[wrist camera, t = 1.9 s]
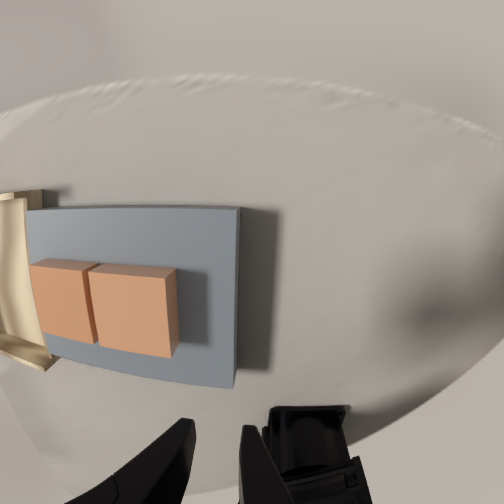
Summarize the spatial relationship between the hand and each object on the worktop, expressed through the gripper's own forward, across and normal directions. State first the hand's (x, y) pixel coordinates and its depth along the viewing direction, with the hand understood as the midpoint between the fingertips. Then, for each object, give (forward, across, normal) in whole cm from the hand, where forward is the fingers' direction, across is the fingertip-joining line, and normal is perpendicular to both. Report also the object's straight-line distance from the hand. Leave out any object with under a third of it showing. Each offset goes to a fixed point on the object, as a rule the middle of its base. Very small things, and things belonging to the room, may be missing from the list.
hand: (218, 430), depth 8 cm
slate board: (+12, +8, 0) cm, 15 cm away
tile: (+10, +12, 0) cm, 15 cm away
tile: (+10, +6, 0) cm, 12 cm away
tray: (+12, +23, 0) cm, 26 cm away
